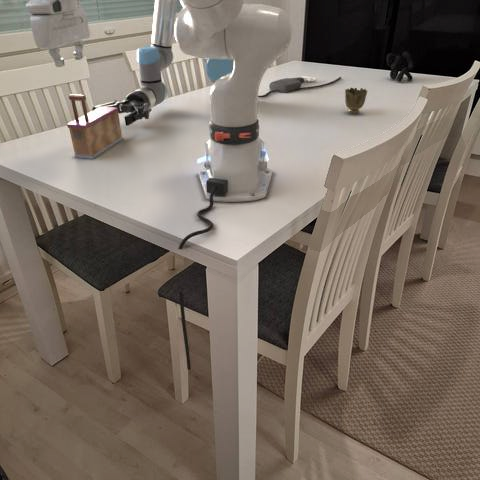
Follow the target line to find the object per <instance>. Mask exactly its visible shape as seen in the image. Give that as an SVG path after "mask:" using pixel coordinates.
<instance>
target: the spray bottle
mask: <svg viewBox="0 0 480 480" xmlns="http://www.w3.org/2000/svg"><path fill="white" fill-rule="evenodd" d="M312 81H315V82H316V81H317V78H316V77H313V76H304V75H301V76H300V77H286V78H280V79H277V80H274V81H271V82H270V83H269V85H268V87H269V90H270V91H273V90H279V92H280V93H290V92H293V91H296V90H295V89H296V88H302V83H304V82H312Z"/></svg>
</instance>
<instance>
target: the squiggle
mask: <svg viewBox="0 0 480 480" xmlns="http://www.w3.org/2000/svg"><path fill="white" fill-rule="evenodd" d="M401 57H402V59H401ZM391 59H392V60H391ZM393 60H394V61H393ZM385 61H386V64H387V67H390V68H391V70H390V72H389V78H390V79H391V80H395V79H396V81H397V82H399V83H400V82H402V81H403V79H404V76H406V78H407V80H408V81H412V80H413V79H414V77H413V75H412V74H411V73H410V72H409V71H410V70H412V69H413V68H414V64H413V61H412V57H411V54H410V53H409V52H408V51H403V53H402V54H401V55H396V54H394V53H392V52H390V53H387V55H386V57H385ZM406 62H407V65H408V66H407V67H405V66H404V65H405V64H406ZM400 70H401V71H400Z"/></svg>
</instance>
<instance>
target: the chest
mask: <svg viewBox="0 0 480 480" xmlns="http://www.w3.org/2000/svg"><path fill="white" fill-rule="evenodd" d="M68 131H69V134H70V138H71V143H72V147H73V152H74V157H75V158H80V159H88V160H89V159H90V160H94V159H95V158H96V157H98V156H100V155H101V154H102V153H104V152H106V150H108V149H110V148H112V146H114V145H116V144H117V143H119V142H121V141H122V140H123V139H124V137H123V133H122V128H121V122H120V114H119V113H118V111H117V112H115V113H114V114H112V115H110V116H108V117H106V118H104V119H103V120H101V121H99V122H97V123H95V124H94V125H92V126H90V127H88V128H86V129H78V128H68Z"/></svg>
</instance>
